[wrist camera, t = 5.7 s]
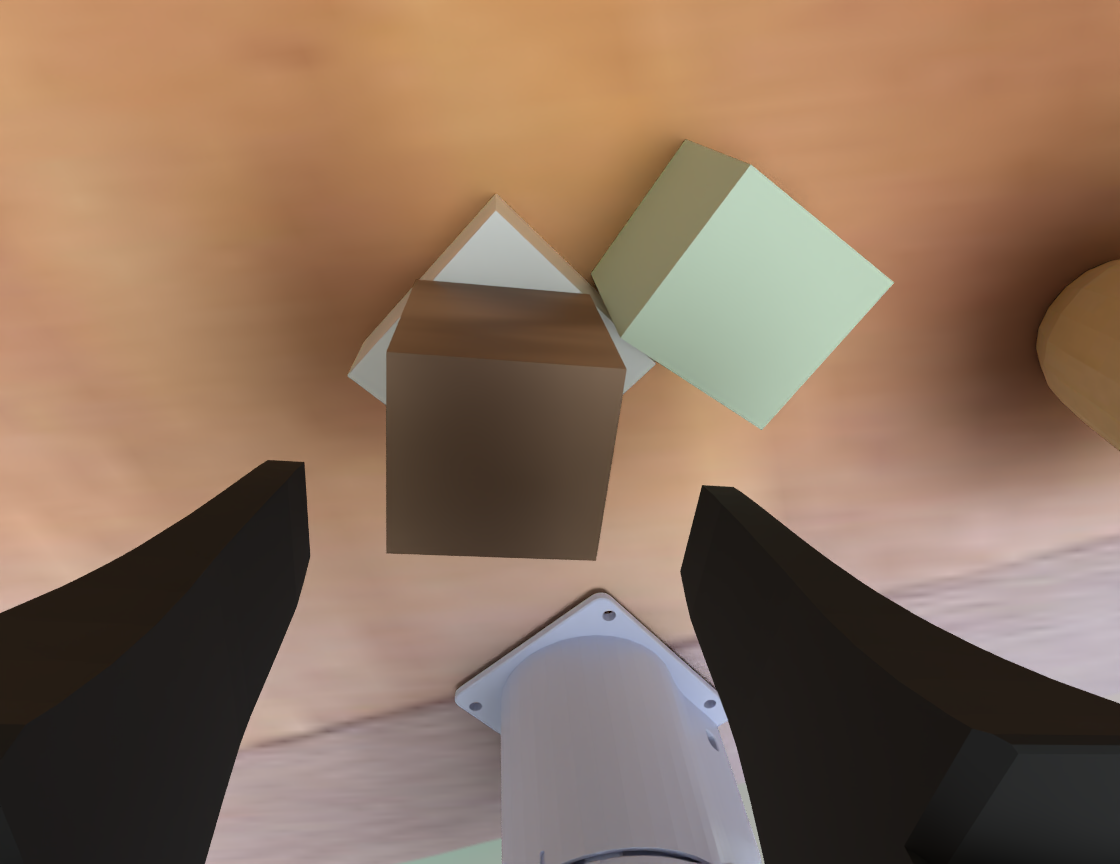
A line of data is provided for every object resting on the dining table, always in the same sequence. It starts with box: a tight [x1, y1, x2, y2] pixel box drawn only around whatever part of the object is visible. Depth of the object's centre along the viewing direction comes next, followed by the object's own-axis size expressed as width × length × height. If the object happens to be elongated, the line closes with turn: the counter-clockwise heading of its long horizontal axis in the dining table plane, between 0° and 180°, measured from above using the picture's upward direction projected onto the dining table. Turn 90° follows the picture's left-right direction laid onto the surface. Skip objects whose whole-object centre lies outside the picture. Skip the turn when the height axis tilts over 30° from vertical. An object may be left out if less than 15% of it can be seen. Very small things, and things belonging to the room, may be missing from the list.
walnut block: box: [386, 279, 627, 561], centre depth 16 cm, size 4×4×6 cm
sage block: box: [591, 139, 894, 430], centre depth 18 cm, size 4×4×6 cm
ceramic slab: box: [347, 194, 656, 405], centre depth 20 cm, size 6×6×3 cm
